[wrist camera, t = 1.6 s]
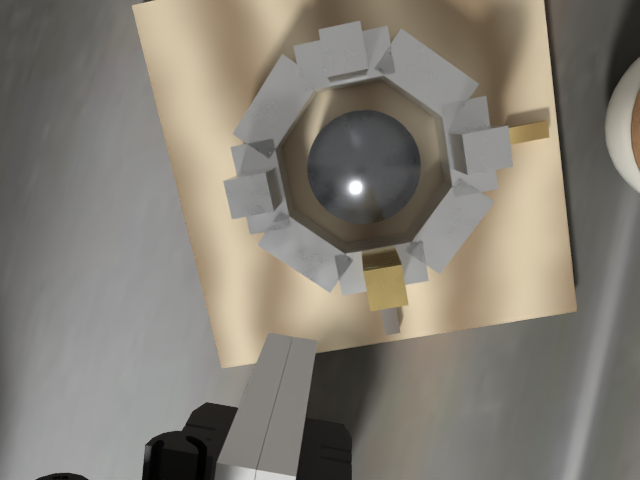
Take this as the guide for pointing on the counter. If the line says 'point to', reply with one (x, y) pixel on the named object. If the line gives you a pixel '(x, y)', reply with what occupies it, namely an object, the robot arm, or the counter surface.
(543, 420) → the counter surface
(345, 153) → the dark grey dome
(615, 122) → the lidded jar
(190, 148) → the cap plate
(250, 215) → the ring nut
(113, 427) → the counter surface
